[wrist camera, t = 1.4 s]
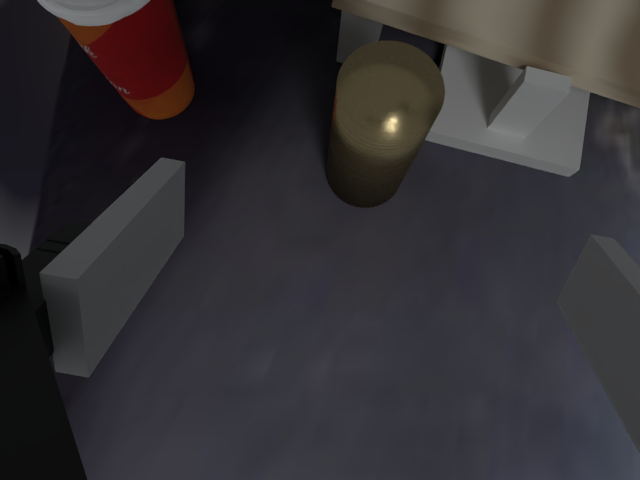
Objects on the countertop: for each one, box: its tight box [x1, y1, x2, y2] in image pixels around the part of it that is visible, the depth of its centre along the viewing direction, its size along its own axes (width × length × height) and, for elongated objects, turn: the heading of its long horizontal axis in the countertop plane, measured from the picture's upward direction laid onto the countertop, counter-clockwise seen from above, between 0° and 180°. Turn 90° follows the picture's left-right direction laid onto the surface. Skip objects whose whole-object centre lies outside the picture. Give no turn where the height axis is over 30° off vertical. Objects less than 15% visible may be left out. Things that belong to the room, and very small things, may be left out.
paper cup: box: [37, 0, 195, 120], centre depth 33 cm, size 8×8×14 cm
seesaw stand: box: [336, 11, 590, 177], centre depth 37 cm, size 20×16×8 cm
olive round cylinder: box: [326, 40, 445, 208], centre depth 33 cm, size 6×6×12 cm
